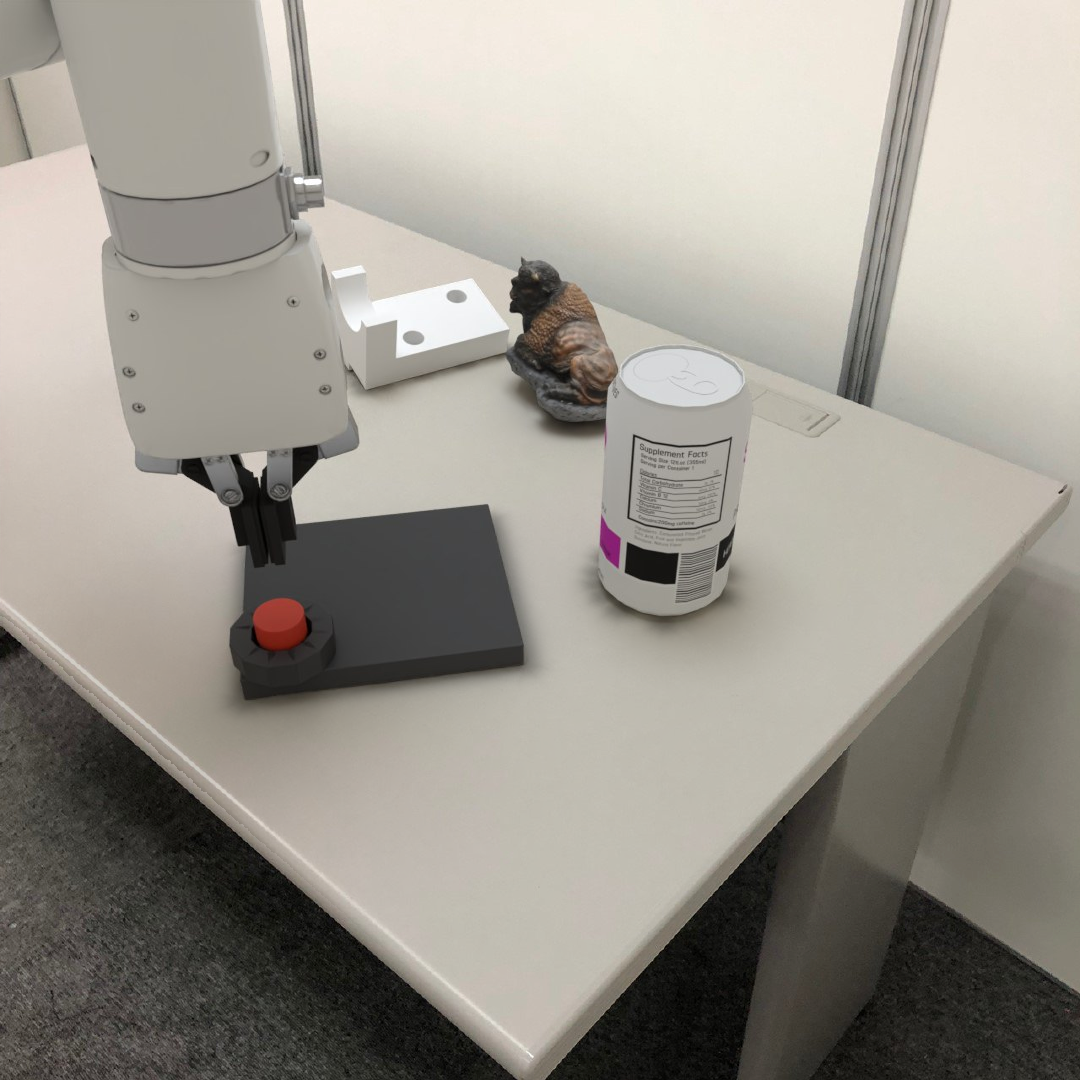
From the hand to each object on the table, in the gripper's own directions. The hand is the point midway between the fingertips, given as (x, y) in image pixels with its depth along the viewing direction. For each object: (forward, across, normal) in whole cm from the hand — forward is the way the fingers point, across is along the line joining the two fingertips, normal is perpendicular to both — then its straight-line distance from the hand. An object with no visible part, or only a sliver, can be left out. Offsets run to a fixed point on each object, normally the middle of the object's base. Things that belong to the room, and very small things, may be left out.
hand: (270, 549), depth 57 cm
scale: (+9, -5, -5) cm, 12 cm away
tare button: (+6, 0, 0) cm, 6 cm away
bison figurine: (+9, -21, -27) cm, 36 cm away
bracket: (+9, -11, -36) cm, 39 cm away
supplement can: (+10, -23, -4) cm, 25 cm away
